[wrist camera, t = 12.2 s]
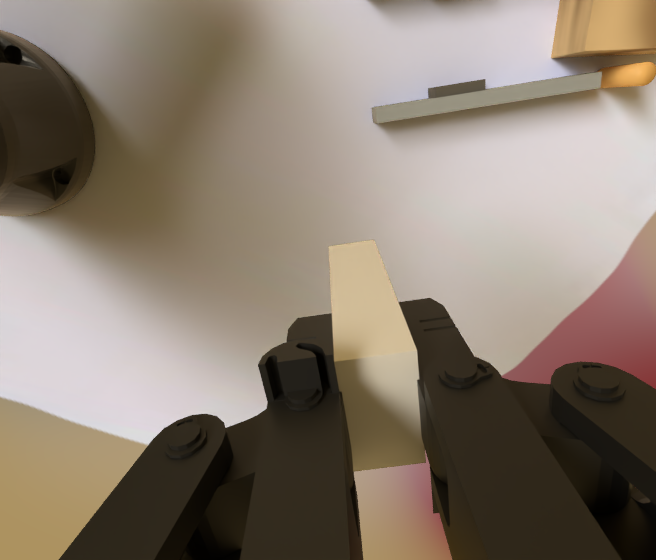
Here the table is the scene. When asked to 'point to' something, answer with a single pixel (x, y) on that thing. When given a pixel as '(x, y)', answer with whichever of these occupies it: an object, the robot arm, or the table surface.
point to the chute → (513, 92)
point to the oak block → (605, 28)
